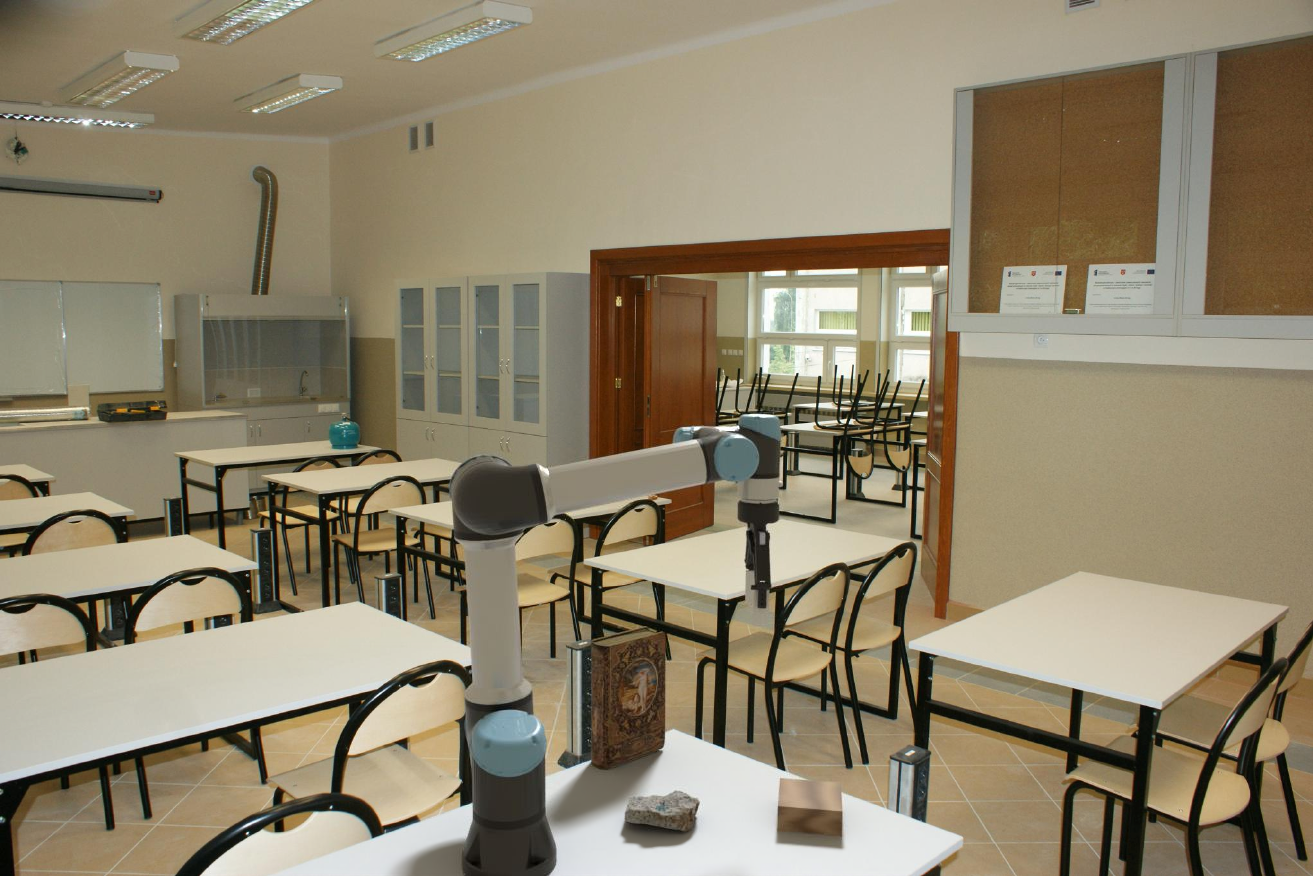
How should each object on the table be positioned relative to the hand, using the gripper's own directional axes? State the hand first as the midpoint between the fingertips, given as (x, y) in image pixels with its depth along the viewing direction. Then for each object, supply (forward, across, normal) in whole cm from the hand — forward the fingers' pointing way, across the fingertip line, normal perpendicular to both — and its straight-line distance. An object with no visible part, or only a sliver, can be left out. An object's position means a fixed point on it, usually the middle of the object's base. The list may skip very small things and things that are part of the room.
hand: (756, 614), depth 177 cm
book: (+35, +18, +24) cm, 46 cm away
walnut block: (+35, -9, -9) cm, 37 cm away
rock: (+36, -14, +17) cm, 42 cm away
